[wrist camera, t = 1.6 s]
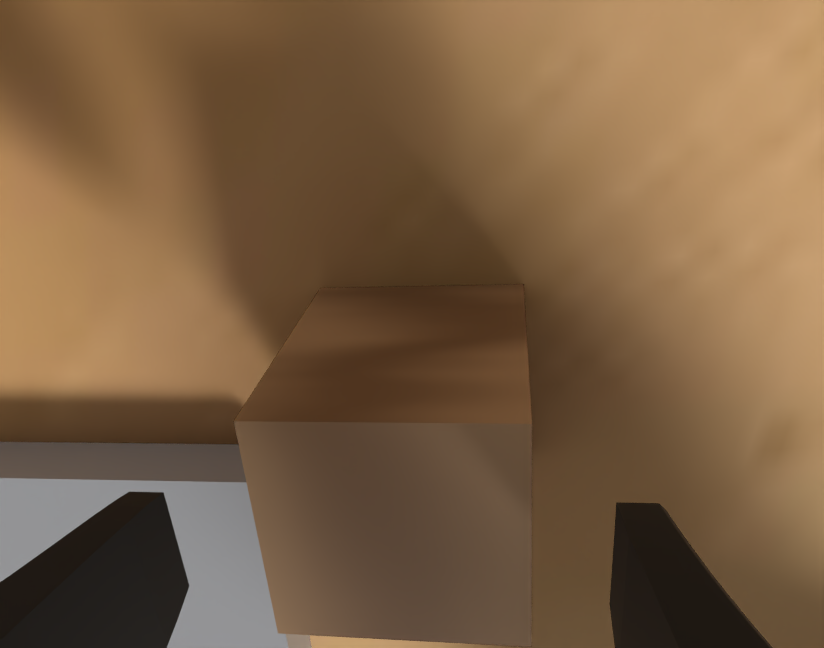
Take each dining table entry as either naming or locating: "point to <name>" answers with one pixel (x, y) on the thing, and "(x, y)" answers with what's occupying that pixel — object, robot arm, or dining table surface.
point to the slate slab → (190, 514)
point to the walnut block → (397, 466)
